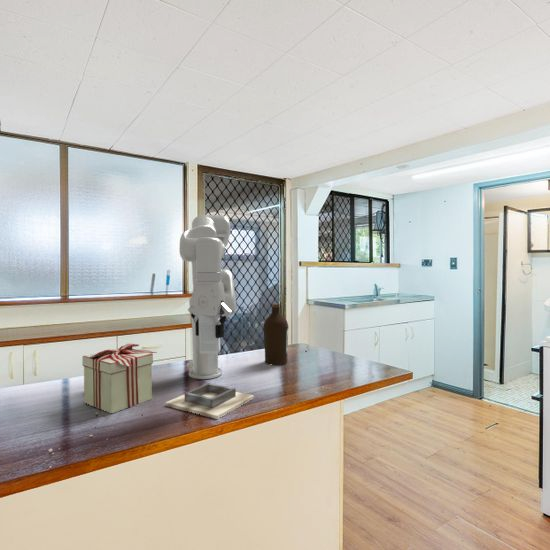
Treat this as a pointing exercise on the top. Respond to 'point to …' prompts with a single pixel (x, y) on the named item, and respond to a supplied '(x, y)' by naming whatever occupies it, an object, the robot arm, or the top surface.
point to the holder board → (210, 400)
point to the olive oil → (276, 337)
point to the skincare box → (208, 335)
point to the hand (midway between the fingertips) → (209, 335)
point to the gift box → (118, 378)
